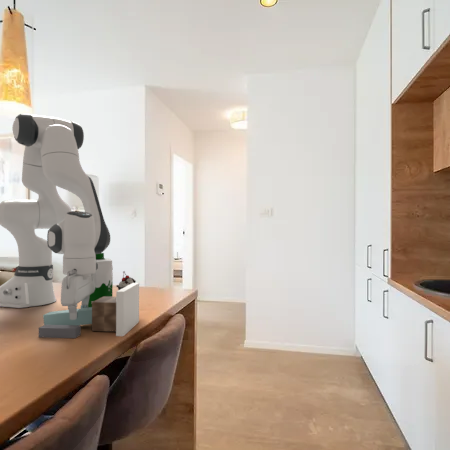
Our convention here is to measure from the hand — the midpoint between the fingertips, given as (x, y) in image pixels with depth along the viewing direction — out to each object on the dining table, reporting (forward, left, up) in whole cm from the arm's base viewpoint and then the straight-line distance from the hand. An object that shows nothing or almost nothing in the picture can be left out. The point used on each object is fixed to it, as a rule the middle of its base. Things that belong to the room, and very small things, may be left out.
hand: (79, 314), depth 103 cm
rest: (-1, -8, -4) cm, 9 cm away
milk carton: (-1, +17, -4) cm, 17 cm away
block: (+10, 0, -4) cm, 10 cm away
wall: (+15, 0, -4) cm, 15 cm away
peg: (0, 0, -3) cm, 3 cm away
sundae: (+10, +13, -4) cm, 17 cm away
